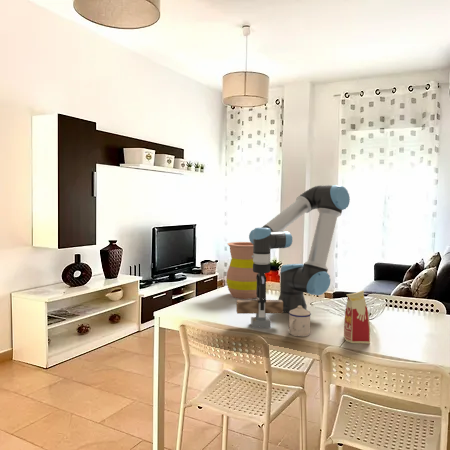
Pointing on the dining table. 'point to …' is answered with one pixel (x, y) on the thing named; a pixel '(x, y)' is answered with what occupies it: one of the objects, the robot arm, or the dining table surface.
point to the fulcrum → (260, 322)
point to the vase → (241, 271)
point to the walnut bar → (253, 306)
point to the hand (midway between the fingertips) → (260, 314)
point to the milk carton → (356, 319)
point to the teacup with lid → (299, 322)
